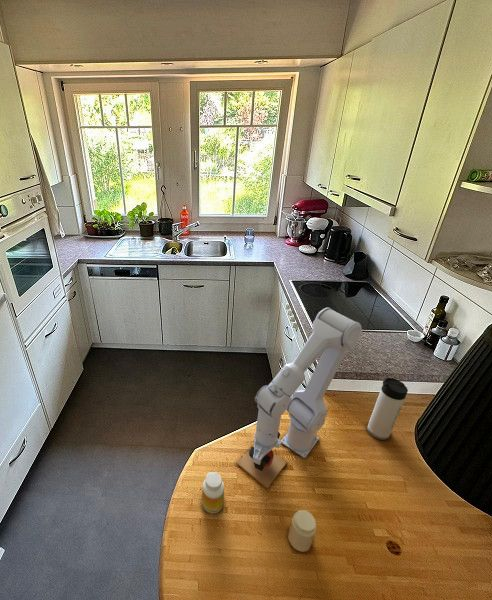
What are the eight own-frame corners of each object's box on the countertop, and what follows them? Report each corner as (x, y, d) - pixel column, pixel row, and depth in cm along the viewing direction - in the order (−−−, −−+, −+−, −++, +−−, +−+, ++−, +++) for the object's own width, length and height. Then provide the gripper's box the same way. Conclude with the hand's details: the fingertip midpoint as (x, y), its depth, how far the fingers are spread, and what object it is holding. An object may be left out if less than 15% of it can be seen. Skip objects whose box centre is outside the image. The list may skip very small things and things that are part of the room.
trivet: (257, 442, 98) (257, 441, 98) (286, 463, 92) (286, 462, 92) (237, 464, 92) (237, 463, 92) (267, 488, 86) (267, 487, 86)
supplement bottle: (221, 516, 80) (223, 492, 75) (200, 511, 81) (200, 487, 76) (224, 494, 84) (226, 471, 80) (203, 490, 85) (204, 467, 81)
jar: (294, 521, 79) (299, 503, 75) (315, 538, 75) (321, 519, 72) (284, 539, 75) (288, 520, 72) (304, 557, 72) (311, 538, 68)
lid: (247, 453, 92) (248, 449, 91) (263, 445, 94) (264, 441, 94) (261, 470, 87) (262, 466, 87) (277, 460, 90) (278, 456, 89)
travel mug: (363, 422, 105) (379, 375, 96) (384, 424, 104) (403, 377, 95) (369, 438, 100) (388, 390, 90) (392, 441, 99) (413, 392, 89)
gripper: (274, 454, 77) (267, 488, 84) (290, 413, 89) (283, 446, 95) (246, 441, 81) (242, 475, 87) (265, 403, 92) (260, 436, 98)
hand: (262, 459), depth 91 cm, fingers closed on lid, 6 cm apart
